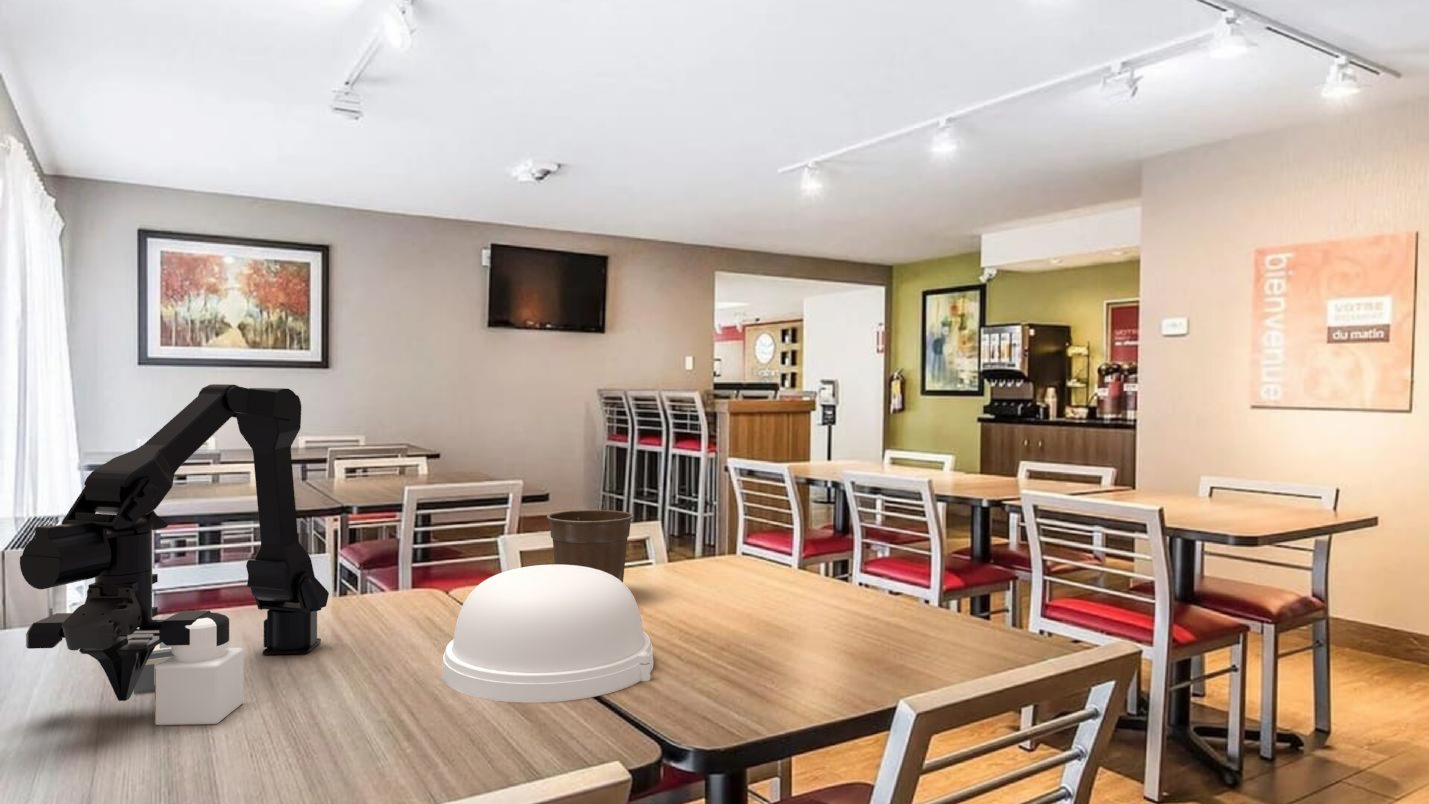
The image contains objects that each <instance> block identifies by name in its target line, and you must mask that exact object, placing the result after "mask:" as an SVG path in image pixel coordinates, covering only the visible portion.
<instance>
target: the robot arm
mask: <svg viewBox="0 0 1429 804" xmlns="http://www.w3.org/2000/svg"><path fill="white" fill-rule="evenodd" d="M231 418H234V419H236V422H237V426H238V430H239V433H240V435H241V436H242V438H243V439H244V440H245V441H246V443H247V444H248V446H249V447H250V448H251V450H252V456H253V466H254V477H255V488H256V490H255V491H256V502H257V512H258V514H257V515H258V523H259V524H258V525H259V526H258V527H259V537H260V547H259V549H258V551H257V553H256V555H255V556H254V558H252V559H247V561H246V565H245V568H246V572H247V584H246V588H250V590H251V594H252V596H253V597H254V599H255V602H256V605H257V609H258V610H267V611H266V615H267V616H266V619H264V620H263V648H265V649H263V650H262V655H288V654H289V655H298V654H308V653H310V652H311V651H313V649H314V648H315V647H317V646H318V645H320V643H321V642H322V638H320V637H319V638H318V612H319V611H321V610H322V609H323V608H325V607H326V606H327V604H328V600H329V599H328V598H329V596H330V593H329V592H330V591H328V590H327V589H326V588H325V587H324V585H323V584H322V583H321V582H320V581H319V579H317V578H316V576H315V572H314V567H313V563H312V558H311V557H310V555H309V554H308V552H307V551H306V549H305V548H304V547H303V545H302V544H301V542H300V541H299V534H298V533H299V532H298V522H297V521H298V520H297V509H296V499H295V498H296V496H295V486H294V485H295V484H294V473H293V471H294V470H293V462H292V461H293V460H292V458H293V457H292V445H293V443H294V441H295V439H296V437H297V435H298V434H299V432H300V430H301V424H302V403H301V399H300V396H299V395H297V394H296V392H294V391H293V390H292V389H290V388H283V387H281V388H280V387H279V388H278V387H277V388H276V387H275V388H274V387H273V388H272V387H271V388H270V387H266V388H265V387H250V388H249V387H242V386H239V385H237V384H221V383H220V384H217V383H216V384H213V383H212V384H208V385H205V386H204V387H201V389H200V391H199V393H198V395H197V396H196V397H194V399H193V400H192V401H191V402H190V403H188V404H187V405H186V406H185V407H183V409H182V410H180V411H179V412H178V413H177V414H176V415H175V416H174V417H172V419H170V420H169V421H168V422H167V423H166V424H165V425H164V426H163V427H161V428H160V429H159V430H158V431H157V432H155V434H153V436H151V438H149V439H148V440H147V441H145V442H144V443H143V444H142V445H140V446H139V447H137V448H136V449H134V450H131V451H129V452H125V453H122V454H121V455H118V456H115V457H113V458H112V459H110V460H108V461H107V462H105V463H104V464H102V465H100V466H98V467H97V468H96V469H94V470H93V471H91V472H90V473H89V474H88V476H87V477H86V479H85V481H84V483H83V484H84V487H83V489H82V490H81V492H80V494H79V495H78V496H77V498H76V499H75V501H74V503H73V504H72V505H71V507H70V509H69V510H68V512H67V513H66V515H65V516H64V518H63V519H62V521H61V524H57V525H49V524H48V525H40V526H36V527H35V528H34V532H35V533H34V538H32V539H31V540H29V541H28V542H27V543H26V544H25V546H24V548H23V551H22V555H21V556H20V557H19V568H20V573H21V575H22V577H23V579H24V581H25V582H26V583H27V584H28V585H30V587H32V588H34V589H37V590H46V589H52V588H54V587H59V586H63V585H68V584H73V583H77V582H83V581H86V580H90V579H94V582H93V583H90V584H88V589H87V591H86V599H85V601H84V603H83V604H81V605H79V606H78V607H76V609H75V610H74V611H73V612H68V613H67V612H63V613H61V612H60V613H55V614H52V615H50V616H47V617H44V618H42V619H40V620H37V621H36V622H35V621H34V622H33V623H31V625H30V626H28V629H27V631H26V633H25V643H26V644H25V646H26V647H25V648H26V649H31V650H32V649H53V648H55V647H57V646H58V644H59V643H61V642H62V641H63V639H64V640H65V643H66V647H67V649H68V650H69V651H79V653H80V654H81V655H89V656H90V657H91V658H93V659H95V660H97V662H98V663H99V664H100V666H101V668H102V669H103V671H104V673H105V675H106V676H107V679H108V681H109V684H110V685H111V688H112V689H113V692H114V694H115V696H116V699H117V701H119V702H126V701H128V700H130V698H132V697H131V696H132V694H133V693H134V688H135V686H136V684H137V681H138V679H139V677H140V675H141V673H142V670H143V668H144V666H145V664H146V662H147V660H148V658H149V657H150V655H151V653H152V652H153V650H154V648H155V647H156V646H157V645H158V644H160V643H164V644H165V645H166V646H170V645H190V629H188V628H186V627H185V626H187V625H192V624H193V623H194V622H195V621H196V620H197V619H198V618H200V617H202V616H204V615H205V614H208V613H212V612H211V610H180V611H179V612H176V613H175V614H173V615H171V616H169V617H167V618H165V619H153V618H155V617H156V616H158V615H159V613H158V611H159V609H158V606H153V585H155V584H156V583H158V582H159V581H158V579H159V577H158V576H159V575H158V573H153V531H157V530H161V529H166V528H167V527H168V526H169V523H168V521H166V520H165V519H164V518H162V517H160V516H159V515H157V513H156V512H155V510H156V509H157V508H158V507H159V505H160V504H161V503H162V502H163V500H164V498H166V496H167V495H168V493H169V492H170V491H171V489H172V487H173V485H174V478H175V474H176V473H177V471H178V470H179V469H180V467H181V466H182V465H183V464H184V463H185V462H186V461H187V460H188V459H190V458H191V456H193V454H195V453H196V452H197V451H198V450H199V449H200V448H201V447H202V446H203V445H204V444H205V443H207V441H208V440H209V439H210V438H212V437H213V435H214V434H216V432H218V431H219V430H220V429H221V428H222V427H223V426H224V425H225V424H226V423H227V422H228V421H229V420H230V419H231Z"/></svg>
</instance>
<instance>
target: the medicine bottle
mask: <svg viewBox="0 0 1429 804" xmlns="http://www.w3.org/2000/svg"><path fill="white" fill-rule="evenodd" d="M185 627H186V628H188V629H190V645H172V654H173V655H174V656H172V657H171V658H169V659H167V660H166V661H164V662H162V663H160V664H159V665H157V666H156V667H155V691H154V714H155V715H154V724H155V725H157V726H183V725H184V726H185V725H186V726H188V725H218V724H219V723H220V722H221V721H222V720H224V719H225V718H226V717H227V716H229V715H230V714H231V713H233V712H234V711H235V710H236V709H237V708H239V707H240V706H241V705H242V704H244V700H245V699H244V697H245V696H244V695H245V693H244V691H245V690H244V686H245V685H244V684H245V683H244V682H245V681H244V680H245V678H244V676H245V675H244V674H245V672H244V667H245V666H244V665H245V664H244V660H245V659H244V658H245V657H244V655H245V654H244V652H245V651H244V648H243V647H230V618H229V616H227V615H225V614H223V613H218V612H211V613H208V614H205V615H204V616H202V617H200V618H198V619H197V620H196V621H195V622H194V623H193V624H192V625H187V626H185Z"/></svg>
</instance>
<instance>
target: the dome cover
mask: <svg viewBox="0 0 1429 804" xmlns="http://www.w3.org/2000/svg"><path fill="white" fill-rule="evenodd" d="M453 634H454V635H453V639H451V640H450V641H449V643H447V645H446V647H445V651H444V653H443V655H442V666H441V667H442V668H441V678H442V680H443V682H444V683H445V684H446V685H447V686H448V687H450V688H451V689H453V690H454V691H457V692H459V693H462V694H465V695H467V696H471V697H474V698H479V699H484V700H489V701H497V702H506V703H526V704H527V703H528V704H529V703H530V704H532V703H534V704H535V703H536V704H537V703H538V704H539V703H540V704H541V703H555V702H556V703H557V702H559V703H560V702H566V701H567V702H568V701H575V700H583V699H589V698H595V697H599V696H604V695H607V694H611V693H614V692H618V691H621V690H624V689H626V688H629V687H631V686H634V685H636V684H637V683H639V682H648V681H651V672H652V671H653V668H654V651H653V650H654V649H653V644H652V642H651V639H650V637H649V635H648V634H647V633H646V632H645V631H644V628H643V620H642V616H641V612H640V609H639V605H638V603H637V600H636V599H635V597H634V594H633V593H632V591H631V590H630V588H628V586H627V585H626V584H625V583H624V581H623V582H621V581H620V580H619V579H618V578H616V577H614V576H613V575H611V574H608V573H606V572H604V571H601V570H597V569H594V568H589V567H583V566H576V565H555V564H538V565H537V564H536V565H530V566H529V565H528V566H523V567H518V568H513V569H509V570H507V571H506V570H505V571H503V572H500V573H496V574H494V575H493V576H490V577H488V578H487V579H485V580H483V581H482V582H480V583H479V584H478V585H477V586H476V587H474V588H473V589H472V591H471V592H470V593H469V594H468V596H467V597H466V598H465V600H464V601H463V604H462V606H461V608H460V610H459V613H458V617H457V620H456V624H455V628H454V633H453Z"/></svg>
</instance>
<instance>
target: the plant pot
mask: <svg viewBox="0 0 1429 804" xmlns="http://www.w3.org/2000/svg"><path fill="white" fill-rule="evenodd" d="M546 519H547V520H548V521H549V531H550V537H551V539H552V545H553V546H552V547H553V556H554V558H553V559H554V565H576V566H583V567H589V568H594V569H597V570H601V571H604V572H606V573H608V574H611V575H613V576H614V577H616V578H618V579H619V580H620V581H621V582H623V583H624V577H625V566H626V556H627V547H628V538H629V537H630V534H631V533H630V531H631V524H632V523H631V522H632V521H631V520H632V519H634V514H633V513H631V512H626V511H621V510H612V509H611V510H606V509H577V510H565V511H559V512H558V511H557V512H551V513H549V514H547V515H546Z"/></svg>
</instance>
